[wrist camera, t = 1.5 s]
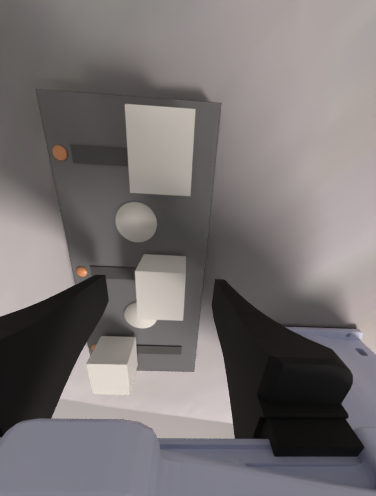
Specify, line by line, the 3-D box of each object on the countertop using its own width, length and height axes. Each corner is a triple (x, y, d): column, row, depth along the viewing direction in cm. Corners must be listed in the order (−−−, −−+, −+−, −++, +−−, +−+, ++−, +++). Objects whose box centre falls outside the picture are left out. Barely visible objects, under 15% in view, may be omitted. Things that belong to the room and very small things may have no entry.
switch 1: (135, 337, 16) (127, 364, 13) (137, 365, 17) (130, 394, 15) (101, 335, 16) (86, 363, 13) (105, 364, 17) (93, 394, 14)
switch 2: (193, 125, 10) (195, 108, 8) (189, 192, 11) (190, 196, 9) (138, 121, 10) (124, 103, 7) (141, 189, 11) (130, 192, 9)
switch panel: (217, 112, 11) (221, 102, 10) (193, 357, 19) (194, 372, 18) (54, 100, 11) (33, 88, 9) (99, 355, 19) (92, 370, 17)
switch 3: (185, 256, 13) (185, 273, 10) (183, 297, 14) (183, 320, 12) (144, 254, 13) (134, 271, 10) (145, 295, 14) (137, 319, 12)
